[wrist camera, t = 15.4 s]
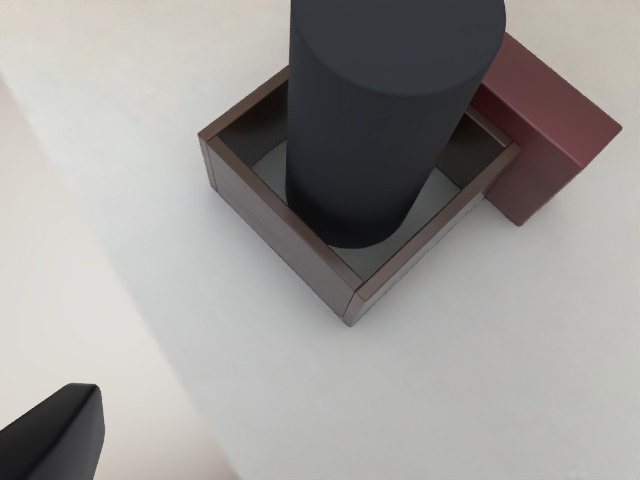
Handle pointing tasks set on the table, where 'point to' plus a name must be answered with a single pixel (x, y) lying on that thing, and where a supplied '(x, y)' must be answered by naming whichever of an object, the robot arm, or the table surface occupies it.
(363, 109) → the dark grey cylinder
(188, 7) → the table surface
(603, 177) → the table surface
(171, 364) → the table surface
